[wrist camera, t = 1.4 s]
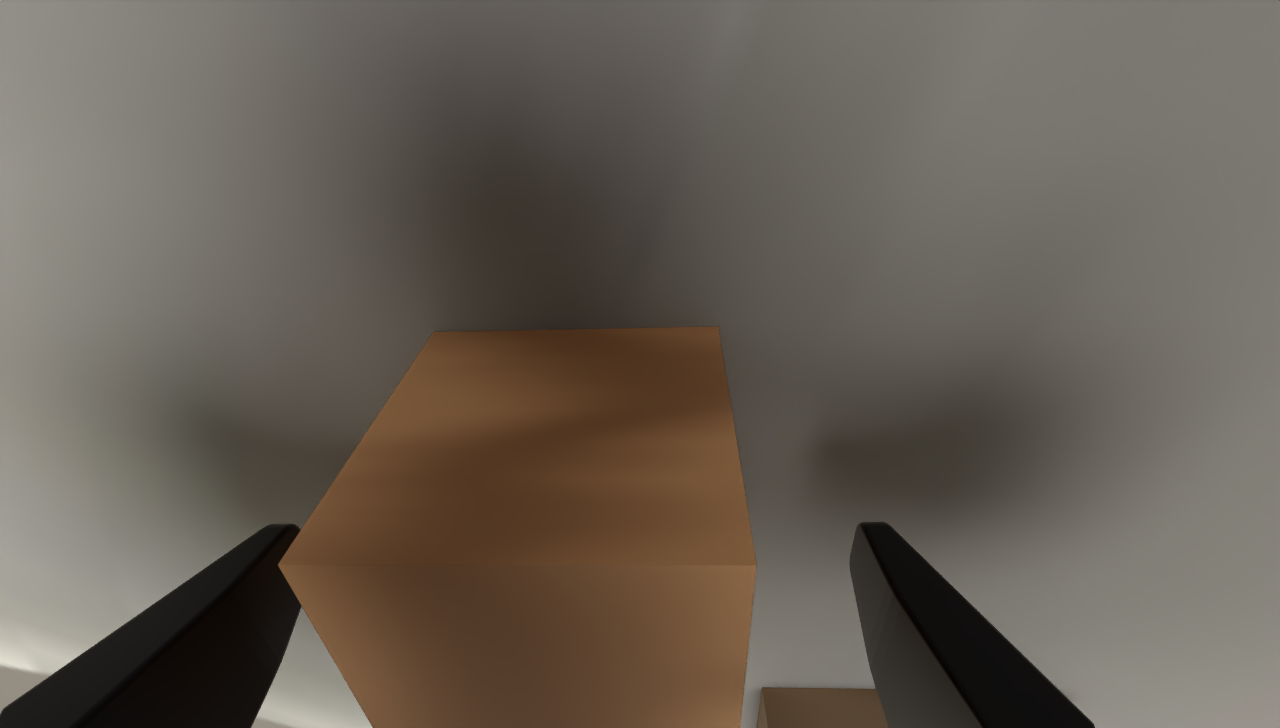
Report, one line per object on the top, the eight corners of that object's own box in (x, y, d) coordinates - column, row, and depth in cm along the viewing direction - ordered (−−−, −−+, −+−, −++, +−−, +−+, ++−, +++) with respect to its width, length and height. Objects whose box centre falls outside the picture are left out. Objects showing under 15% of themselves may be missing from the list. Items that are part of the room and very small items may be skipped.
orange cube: (718, 324, 10) (756, 565, 6) (710, 523, 13) (734, 785, 9) (434, 330, 10) (278, 565, 6) (487, 524, 13) (403, 778, 9)
